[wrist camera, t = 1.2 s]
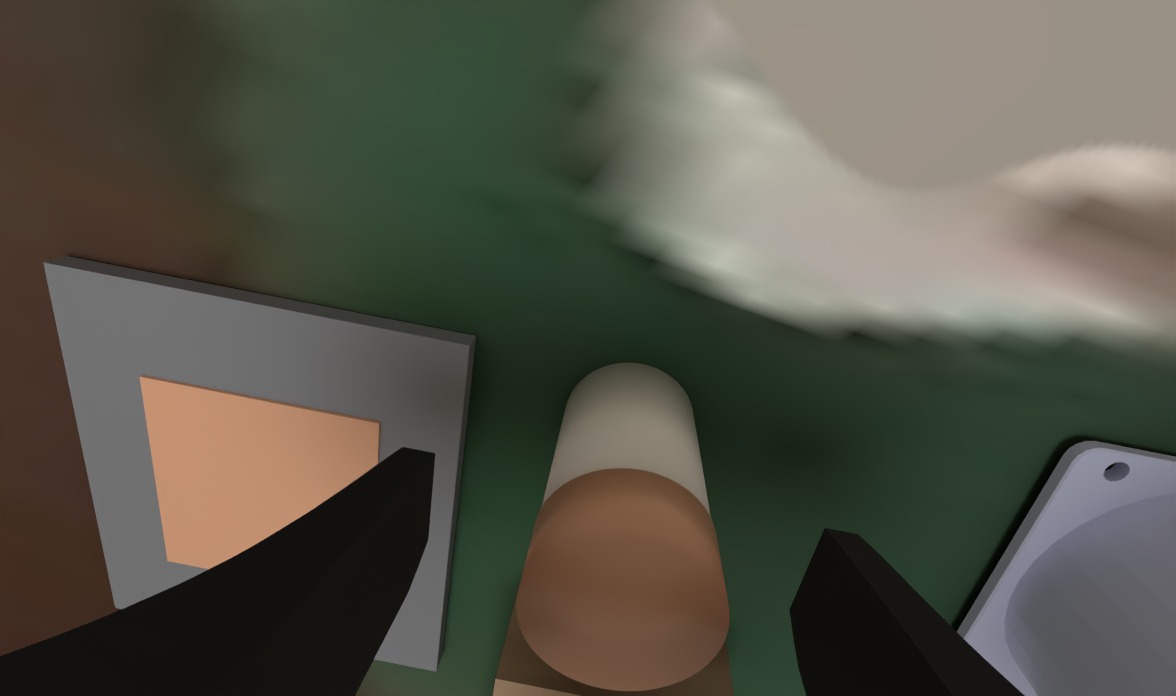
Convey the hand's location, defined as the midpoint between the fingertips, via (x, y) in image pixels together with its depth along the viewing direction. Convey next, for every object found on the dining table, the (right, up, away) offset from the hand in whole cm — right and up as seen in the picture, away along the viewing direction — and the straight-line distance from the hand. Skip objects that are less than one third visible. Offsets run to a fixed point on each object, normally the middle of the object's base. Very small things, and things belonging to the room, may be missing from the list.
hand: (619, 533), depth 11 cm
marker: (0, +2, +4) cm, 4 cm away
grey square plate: (-9, 0, +5) cm, 11 cm away
